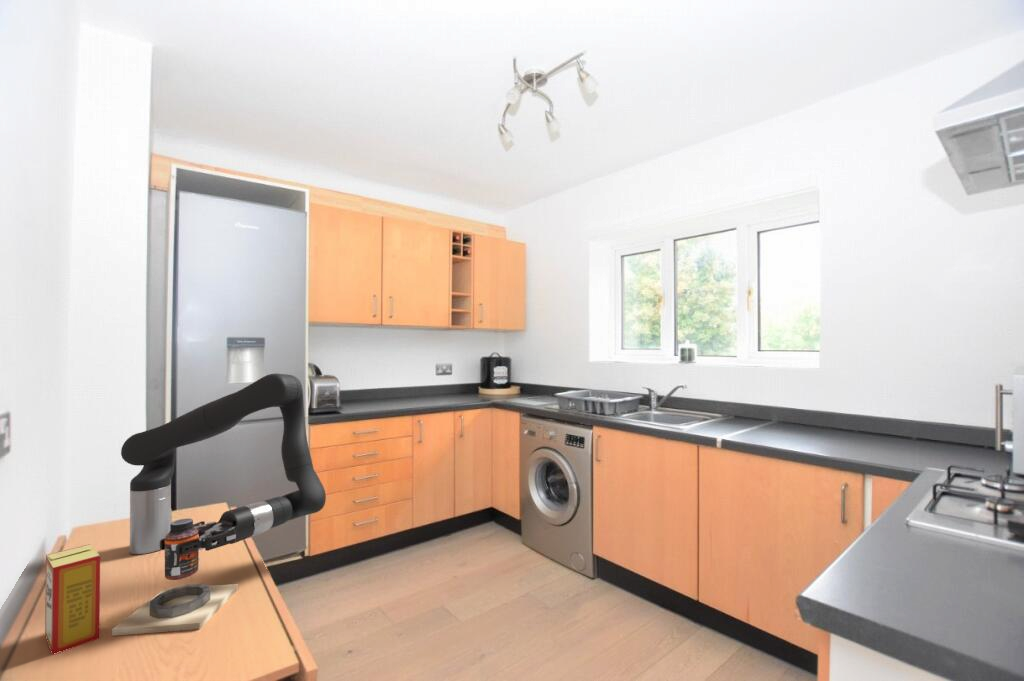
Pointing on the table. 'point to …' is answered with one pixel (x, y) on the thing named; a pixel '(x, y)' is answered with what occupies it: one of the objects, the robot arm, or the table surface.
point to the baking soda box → (72, 597)
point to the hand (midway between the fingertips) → (168, 547)
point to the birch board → (191, 621)
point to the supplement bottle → (187, 562)
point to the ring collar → (180, 609)
